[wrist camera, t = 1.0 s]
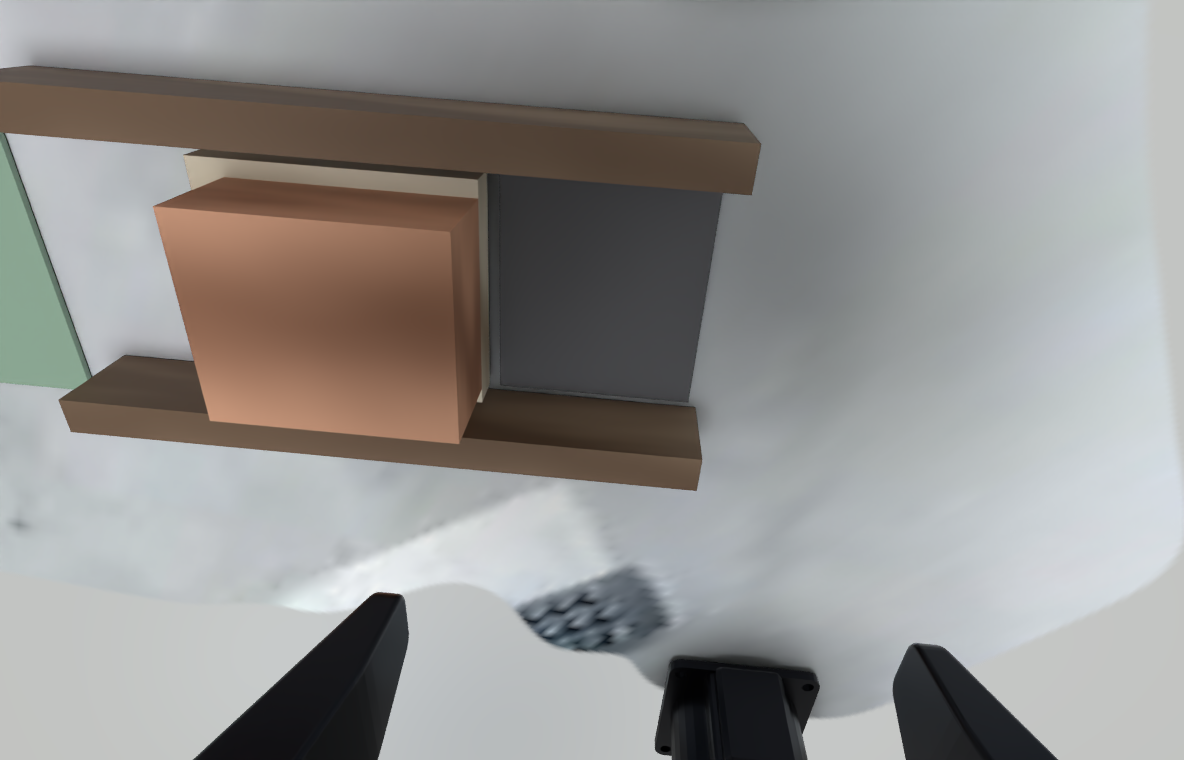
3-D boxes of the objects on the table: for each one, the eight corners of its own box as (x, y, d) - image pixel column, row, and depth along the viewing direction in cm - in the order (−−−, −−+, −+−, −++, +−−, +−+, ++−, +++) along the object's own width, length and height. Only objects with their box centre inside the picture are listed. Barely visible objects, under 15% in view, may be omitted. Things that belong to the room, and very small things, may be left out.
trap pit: (687, 399, 22) (688, 402, 22) (501, 382, 23) (500, 385, 22) (723, 178, 19) (724, 180, 19) (501, 159, 19) (499, 161, 19)
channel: (690, 435, 23) (696, 490, 21) (133, 384, 24) (71, 431, 21) (744, 123, 18) (761, 143, 15) (30, 65, 18) (-70, 75, 16)
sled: (489, 383, 22) (459, 458, 18) (254, 362, 22) (178, 432, 19) (487, 170, 19) (449, 210, 15) (208, 146, 19) (104, 181, 15)
